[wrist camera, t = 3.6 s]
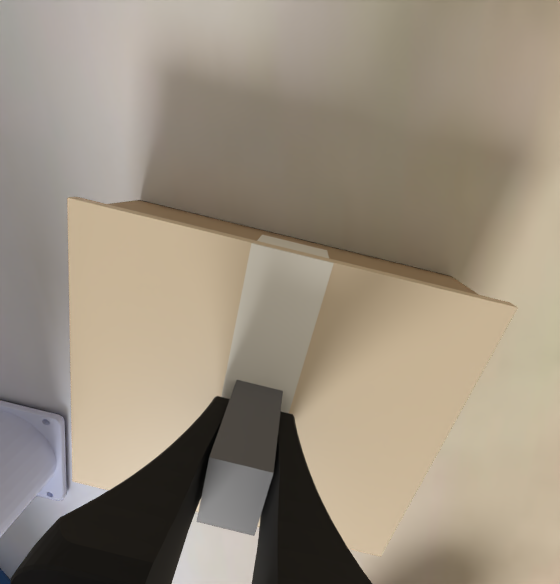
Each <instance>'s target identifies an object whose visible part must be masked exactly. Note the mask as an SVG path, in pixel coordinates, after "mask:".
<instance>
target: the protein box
mask: <svg viewBox="0 0 560 584" xmlns="http://www.w3.org/2000/svg"><path fill="white" fill-rule="evenodd" d="M10 583H11V580H10V579H9V578H8V577H7V576H6V574H5V573H4V572H3V571H2V570H1V568H0V584H10Z"/></svg>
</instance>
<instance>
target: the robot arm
mask: <svg viewBox="0 0 560 584" xmlns="http://www.w3.org/2000/svg"><path fill="white" fill-rule="evenodd" d="M229 400H230V399H228V398H224V397H220V396H216V397H214V399H213V400H212V402H211V403H210V404H209V406H208V407H207V408H206V409H205V411H204V412H203V413H202V414H201V415H200V416H199V418H198V419H197V420H196V421H195V422H194V423H193V424H192V425H191V426H190V427H189V428H188V429H187V430H186V431H185V432H184V433H183V434H182V435H181V436H180V437H179V438H178V439H177V440H176V441H175V442H174V443H172V444H171V445H170V446H169V447H168V448H167V449H166V450H165V451H163V452H162V453H161V454H160V455H159V456H157V457H156V458H155V459H154V460H152V461H151V462H150V463H148V464H147V465H146V466H144V467H143V468H142V469H140V470H139V471H138V472H136V473H135V474H133V475H132V476H130V477H129V478H128V479H126V480H125V481H123V482H121V483H120V484H118V485H117V486H115V487H113V488H112V489H110V490H109V491H107V492H105V493H104V494H102V495H101V496H99V497H97V498H96V499H94V500H92V501H90V502H88V503H86V504H85V505H83V506H81V507H79V508H77V509H75V510H73V511H72V512H70V513H68V514H66V515H64V516H62V517H60V518H59V519H58V520H57V521H56V522H55V523H54V524H53V525H52V526H51V528H50V529H49V530H48V531H47V532H46V533H45V534H44V535H43V536H42V538H41V539H40V540H39V541H38V542H37V543H36V545H35V546H34V547H33V548H32V550H31V551H30V552H29V554H28V555H27V556H26V558H25V559H24V561H23V562H22V563H21V565H20V566H19V567H18V569H17V570H16V572H15V573H14V575H13V576H12V578H11V583H10V584H171V583H172V580H173V577H174V574H175V570H176V567H177V564H178V561H179V558H180V555H181V552H182V549H183V545H184V542H185V539H186V536H187V533H188V530H189V527H190V524H191V522H192V519H193V516H194V514H195V512H196V509H197V507H198V504H199V502H200V499H201V497H202V492H203V486H204V481H205V476H206V471H207V466H208V461H209V457H210V454H211V451H212V448H213V445H214V442H215V440H216V437H217V434H218V431H219V428H220V425H221V423H222V420H223V417H224V414H225V411H226V408H227V406H228V403H229ZM66 494H67V490H66V454H65V422H64V419H63V417H62V416H60V415H58V414H54V413H50V412H46V411H42V410H38V409H34V408H30V407H25V406H21V405H17V404H13V403H9V402H5V401H1V400H0V537H1V536H2V535H3V534H4V533H5V531H6V530H7V529H8V528H9V527H10V526H11V524H12V523H13V522H14V521H15V520H16V519H17V517H18V516H19V515H20V514H21V513H22V512H23V510H24V509H25V508H26V507H27V506H28V505H29V503H30V502H31V501H32V500H33V499H34V498H35V496H40V497H44V498H48V499H52V500H57V501H60V500H63V499H64V497H65V496H66ZM252 584H372V583H371V581H370V580H369V579H368V577H367V576H366V575H365V573H364V572H363V570H362V569H361V568H360V566H359V565H358V563H357V561H356V560H355V558H354V557H353V555H352V554H351V552H350V551H349V549H348V547H347V546H346V544H345V542H344V541H343V539H342V537H341V535H340V534H339V532H338V530H337V528H336V527H335V525H334V523H333V522H332V520H331V518H330V516H329V514H328V512H327V510H326V508H325V506H324V504H323V502H322V500H321V497H320V495H319V493H318V491H317V489H316V486H315V484H314V481H313V479H312V476H311V474H310V471H309V468H308V466H307V463H306V460H305V457H304V454H303V451H302V447H301V444H300V440H299V436H298V433H297V428H296V423H295V417H294V416H293V414H290V413H285V412H281V413H280V421H279V430H278V438H277V447H276V456H275V464H274V473H273V476H272V480H271V483H270V486H269V489H268V493H267V496H266V499H265V502H264V506H263V509H262V512H261V516H260V528H259V539H258V547H257V554H256V560H255V567H254V573H253V579H252Z"/></svg>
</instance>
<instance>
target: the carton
mask: <svg viewBox="0 0 560 584" xmlns="http://www.w3.org/2000/svg"><path fill="white" fill-rule="evenodd" d="M108 205H112V206H116V207H120V208H125V209H129V210H133V211H137V212H141V213H145V214H149V215H153V216H157V217H161V218H165V219H170V220H174V221H178V222H182V223H186V224H190V225H194V226H198V227H202V228H206V229H211V230H215V231H219V232H223V233H227V234H231V235H235V236H239V237H243V238H247V239H251V240H256V241H260V242H264V243H268V244H272V245H276V246H280V247H284V248H288V249H292V250H296V251H301V252H305V253H309V254H313V255H317V256H321V257H325V258H329V259H333V260H337V261H341V262H346V263H350V264H354V265H358V266H362V267H366V268H370V269H374V270H378V271H382V272H387V273H391V274H395V275H399V276H403V277H407V278H411V279H415V280H419V281H423V282H427V283H432V284H436V285H440V286H444V287H448V288H452V289H456V290H460V291H464V292H468V293H472V294H477V293H475V292H474V291H472V290H471V289H469V288H468V287H466V286H465V285H463V284H462V283H460V282H459V281H457V280H456V279H454V278H453V277H451V276H448V275H444V274H440V273H436V272H431V271H427V270H423V269H419V268H415V267H411V266H407V265H403V264H399V263H395V262H391V261H386V260H382V259H378V258H374V257H370V256H366V255H362V254H358V253H354V252H350V251H346V250H341V249H337V248H333V247H329V246H325V245H321V244H317V243H313V242H309V241H305V240H301V239H296V238H292V237H288V236H284V235H280V234H276V233H272V232H268V231H264V230H260V229H255V228H251V227H247V226H243V225H239V224H235V223H231V222H227V221H223V220H219V219H215V218H210V217H206V216H202V215H198V214H194V213H190V212H186V211H182V210H178V209H174V208H170V207H165V206H161V205H157V204H153V203H149V202H145V201H141V200H137V201H129V202H121V203H112V204H108ZM477 295H478V294H477Z"/></svg>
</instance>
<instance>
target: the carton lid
mask: <svg viewBox="0 0 560 584" xmlns="http://www.w3.org/2000/svg"><path fill="white" fill-rule="evenodd" d="M67 208H68V264H69V319H70V374H71V430H72V481H73V482H77V483H81V484H85V485H89V486H93V487H97V488H101V489H105V490H110V489H112V488H113V487H115V486H117V485H118V484H120V483H121V482H123V481H125V480H126V479H128V478H129V477H130V476H132V475H133V474H135V473H136V472H138V471H139V470H140V469H142V468H143V467H144V466H146V465H147V464H148V463H150V462H151V461H152V460H154V459H155V458H156V457H157V456H159V455H160V454H161V453H162V452H163V451H165V450H166V449H167V448H168V447H169V446H170V445H171V444H172V443H174V442H175V441H176V440H177V439H178V438H179V437H180V436H181V435H182V434H183V433H184V432H185V431H186V430H187V429H188V428H189V427H190V426H191V425H192V424H193V423H194V422H195V421H196V420H197V419H198V418H199V416H200V415H201V414H202V413H203V412H204V411H205V409H206V408H207V407H208V406H209V404H210V403H211V402H212V400H213V399H214V397H216V396H220V397H224V398H228V399H230V400H229V403H228V406H227V408H226V411H225V414H224V417H223V420H222V423H221V425H220V428H219V431H218V434H217V437H216V440H215V442H214V445H213V448H212V451H211V454H210V457H209V461H208V466H207V471H206V476H205V481H204V486H203V492H202V497H201V499H200V502H199V504H198V507H197V509H196V512H198V517H197V522H200V523H204V524H208V525H212V526H216V527H220V528H224V529H229V530H233V531H237V532H241V533H245V534H249V535H253V536H254V535H255V532H256V529H257V527H260V516H261V512H262V509H263V506H264V502H265V499H266V496H267V493H268V489H269V486H270V483H271V480H272V476H273V473H274V464H275V456H276V447H277V438H278V430H279V421H280V413H281V412H285V413H290V414H293V416H294V417H295V423H296V428H297V433H298V436H299V440H300V444H301V447H302V451H303V454H304V457H305V460H306V463H307V466H308V468H309V471H310V474H311V476H312V479H313V481H314V484H315V486H316V489H317V491H318V493H319V495H320V497H321V500H322V502H323V504H324V506H325V508H326V510H327V512H328V514H329V516H330V518H331V520H332V522H333V523H334V525H335V527H336V528H337V530H338V532H339V534H340V535H341V537H342V539H343V541H344V542H345V544H346V546H347V547H348V549H351V550H355V551H359V552H363V553H367V554H371V555H375V556H380V557H381V556H382V554H383V552H384V550H385V548H386V546H387V545H388V543H389V541H390V539H391V537H392V536H393V534H394V532H395V530H396V528H397V527H398V525H399V523H400V521H401V519H402V517H403V516H404V514H405V512H406V510H407V508H408V507H409V505H410V503H411V501H412V499H413V497H414V496H415V494H416V492H417V490H418V488H419V487H420V485H421V483H422V481H423V479H424V478H425V476H426V474H427V472H428V470H429V468H430V467H431V465H432V463H433V461H434V459H435V458H436V456H437V454H438V452H439V450H440V449H441V447H442V445H443V443H444V441H445V439H446V438H447V436H448V434H449V432H450V430H451V429H452V427H453V425H454V423H455V421H456V419H457V418H458V416H459V414H460V412H461V410H462V409H463V407H464V405H465V403H466V401H467V400H468V398H469V396H470V394H471V392H472V390H473V389H474V387H475V385H476V383H477V381H478V380H479V378H480V376H481V374H482V372H483V370H484V369H485V367H486V365H487V363H488V361H489V360H490V358H491V356H492V354H493V352H494V351H495V349H496V347H497V345H498V343H499V341H500V340H501V338H502V336H503V334H504V332H505V331H506V329H507V327H508V325H509V323H510V322H511V320H512V318H513V316H514V314H515V312H516V311H517V309H518V307H516V306H514V305H513V304H511V303H509V302H505V301H501V300H497V299H493V298H489V297H485V296H481V295H477V294H472V293H468V292H464V291H460V290H456V289H452V288H448V287H444V286H440V285H436V284H432V283H427V282H423V281H419V280H415V279H411V278H407V277H403V276H399V275H395V274H391V273H387V272H382V271H378V270H374V269H370V268H366V267H362V266H358V265H354V264H350V263H346V262H341V261H337V260H333V259H329V258H325V257H321V256H317V255H313V254H309V253H305V252H301V251H296V250H292V249H288V248H284V247H280V246H276V245H272V244H268V243H264V242H260V241H256V240H251V239H247V238H243V237H239V236H235V235H231V234H227V233H223V232H219V231H215V230H211V229H206V228H202V227H198V226H194V225H190V224H186V223H182V222H178V221H174V220H170V219H165V218H161V217H157V216H153V215H149V214H145V213H141V212H137V211H133V210H129V209H125V208H120V207H116V206H112V205H108V204H104V203H100V202H96V201H92V200H88V199H84V198H80V197H69V198H67Z"/></svg>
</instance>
